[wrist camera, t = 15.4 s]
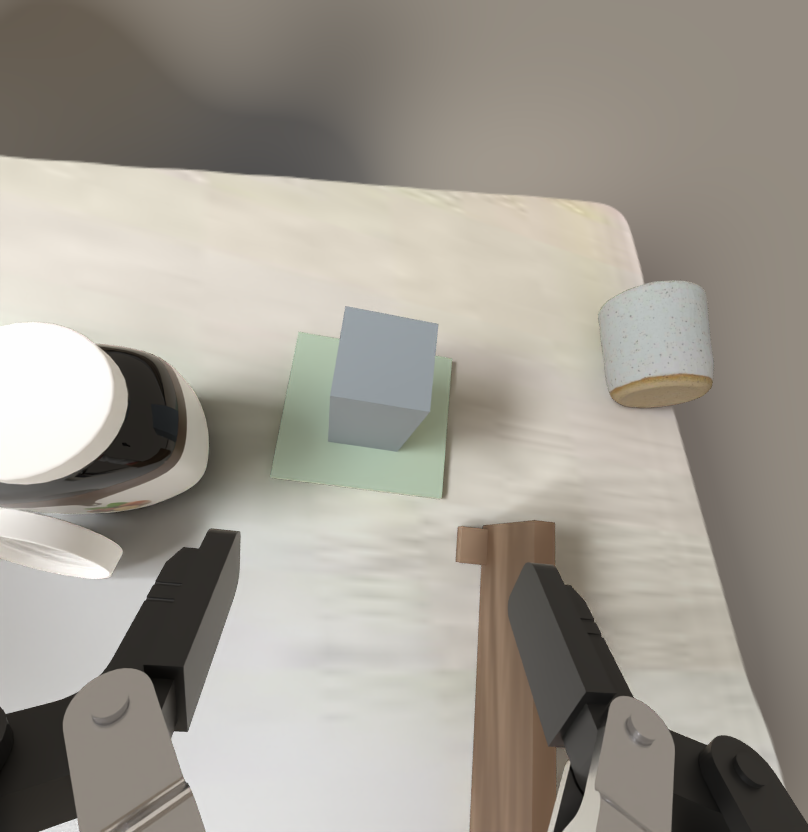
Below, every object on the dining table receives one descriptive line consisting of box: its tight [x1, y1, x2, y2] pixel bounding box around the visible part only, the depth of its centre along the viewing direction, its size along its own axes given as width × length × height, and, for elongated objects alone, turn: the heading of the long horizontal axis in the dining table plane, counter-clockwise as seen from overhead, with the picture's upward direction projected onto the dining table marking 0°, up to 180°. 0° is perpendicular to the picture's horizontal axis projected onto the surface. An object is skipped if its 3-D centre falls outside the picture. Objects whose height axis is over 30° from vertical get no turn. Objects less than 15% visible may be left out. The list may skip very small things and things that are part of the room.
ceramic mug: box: [598, 281, 714, 408], centre depth 34 cm, size 11×8×8 cm
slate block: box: [328, 306, 438, 452], centre depth 26 cm, size 5×5×10 cm
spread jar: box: [0, 322, 209, 579], centre depth 22 cm, size 12×11×12 cm
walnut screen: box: [456, 520, 556, 832], centre depth 23 cm, size 5×26×8 cm, turn 174°
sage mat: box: [270, 332, 452, 499], centre depth 31 cm, size 12×11×1 cm
